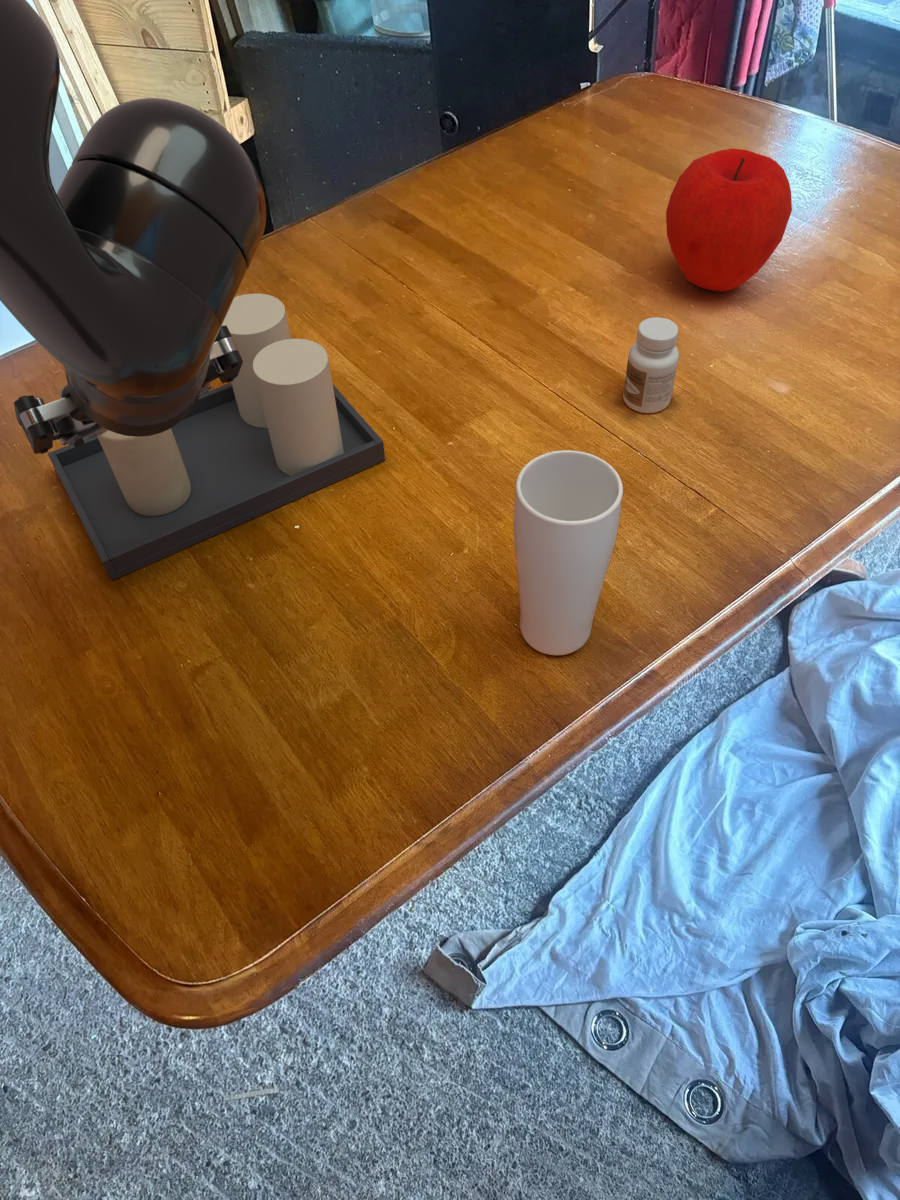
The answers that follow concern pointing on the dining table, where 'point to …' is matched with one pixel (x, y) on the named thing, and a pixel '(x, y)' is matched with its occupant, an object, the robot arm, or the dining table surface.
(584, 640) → the drinking glass
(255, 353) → the ivory candle
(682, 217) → the apple
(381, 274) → the dining table surface
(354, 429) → the tray
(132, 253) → the robot arm
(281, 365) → the ivory candle
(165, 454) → the candle
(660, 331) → the pill bottle
